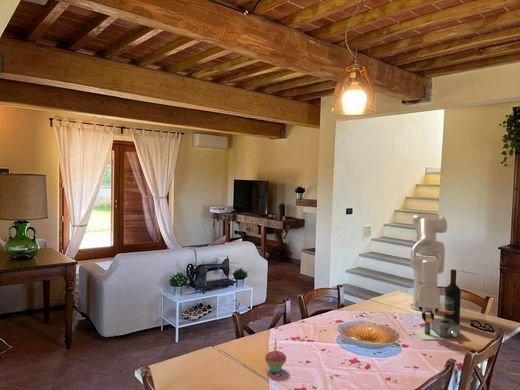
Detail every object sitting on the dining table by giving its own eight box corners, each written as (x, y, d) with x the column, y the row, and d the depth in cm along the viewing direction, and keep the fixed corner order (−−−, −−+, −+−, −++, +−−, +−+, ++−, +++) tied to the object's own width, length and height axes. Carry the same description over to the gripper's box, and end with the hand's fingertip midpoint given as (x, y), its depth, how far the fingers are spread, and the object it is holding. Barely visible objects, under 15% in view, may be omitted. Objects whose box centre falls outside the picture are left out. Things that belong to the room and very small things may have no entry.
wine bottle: (461, 327, 205) (463, 271, 204) (446, 326, 206) (448, 271, 205) (457, 322, 212) (458, 268, 211) (442, 321, 214) (444, 268, 213)
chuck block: (431, 329, 201) (431, 318, 201) (449, 329, 201) (450, 318, 201) (444, 341, 186) (445, 328, 186) (465, 341, 186) (465, 329, 186)
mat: (412, 330, 199) (412, 329, 199) (431, 330, 199) (431, 329, 199) (422, 340, 187) (422, 338, 187) (442, 340, 187) (443, 339, 187)
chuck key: (425, 335, 190) (426, 318, 190) (423, 330, 197) (423, 313, 196) (431, 336, 189) (432, 318, 189) (429, 331, 196) (429, 313, 196)
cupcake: (264, 364, 158) (264, 335, 158) (284, 364, 159) (284, 335, 159) (266, 374, 150) (266, 344, 150) (287, 374, 151) (288, 344, 150)
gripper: (412, 284, 191) (411, 321, 191) (448, 287, 187) (447, 325, 187) (410, 281, 198) (409, 316, 198) (444, 283, 194) (443, 319, 194)
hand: (427, 320), depth 193 cm, fingers closed on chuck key, 2 cm apart
